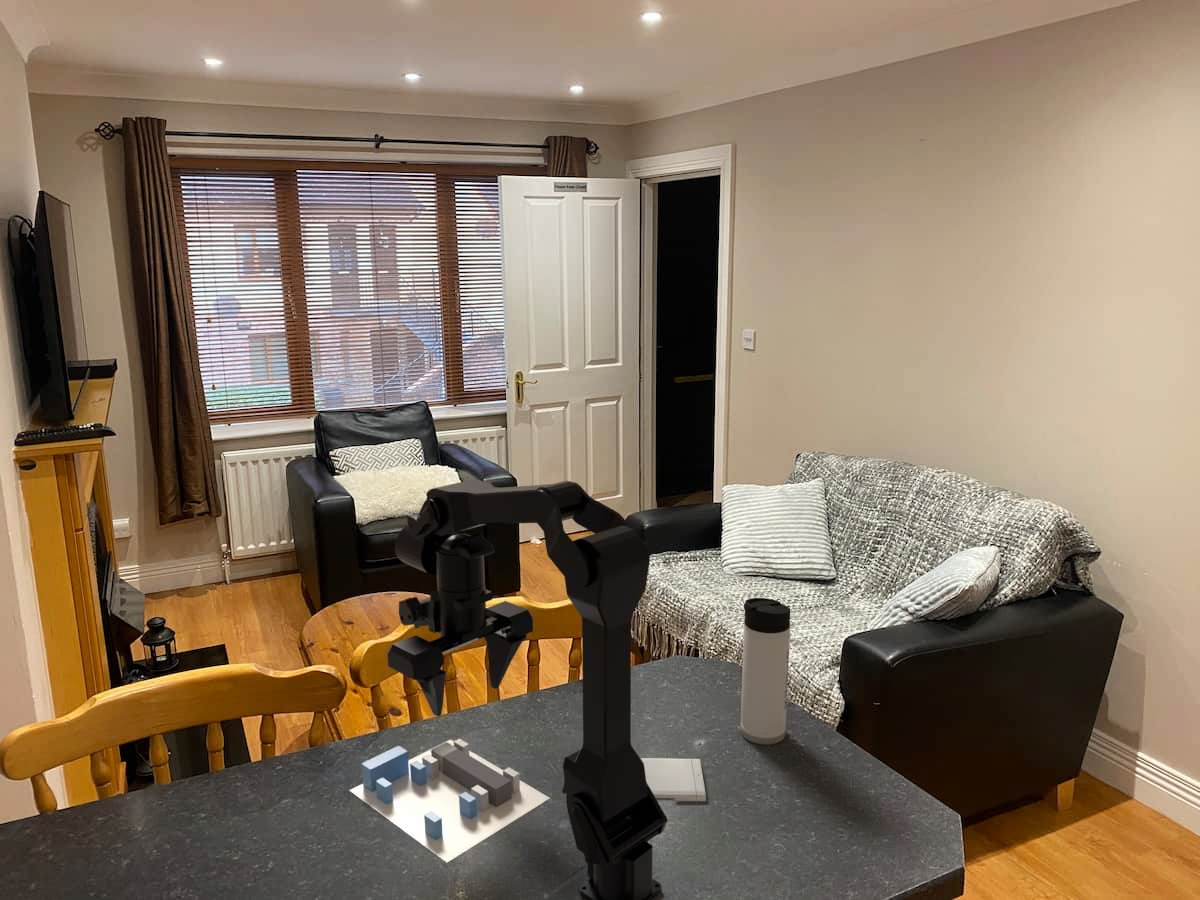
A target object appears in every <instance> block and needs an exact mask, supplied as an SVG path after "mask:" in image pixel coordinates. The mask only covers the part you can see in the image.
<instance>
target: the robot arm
mask: <svg viewBox="0 0 1200 900" xmlns="http://www.w3.org/2000/svg"><path fill="white" fill-rule="evenodd" d="M425 496H426V500H424V502H423V503H422V506H421V508H420V510H419V512H417V513H413V514H409V515H407V516H406V517H407V518H406V521H407V524H406V525H405V526H404V527H402V529H401V530H400V531H399V533H398V535H397V537H396V541H395V542H394V552H395V555H396V557H397V558H398V559H399V560H400V561H401V562H402V563H404V564H406V565H409V566H411V567H412V568H415V569H417V570H420V571H422V572H424V573H427V574H428V575H433V576H434V575H435V576H436V583H437V584H436V585H437V586H436V587H437V589H435V590H431V593H430V595H429V596H428V597H426V598H423V599H418V597H417V596H414V597H408V598H404V599H402V600H400V601H398V617H399V620H400V623H401V624H402V625H403V626H413V627H414V629H420V627H428V631H429V632H431V633H433V634H437V633H439V636H440V637H439V638H436V639H432V640H431V641H429V640H427V639H424V638H423V637H421V636H418V635H417V634H416V635H414V636H411V637H408V638H406V639H403V640H400V641H397V642H395V643H392V644H391V645H390V647H388V650H387V667H388V668H391V669H393V670H394V671H396V672H398V673H400V674H401V675H403V676H406V677H408V678H410V679H411V680H413V681H416V683H418V685H419V687H420V688H421V691H422V693H423V695H424V697H425V700H426V702H427V703H428V706H429V708H430V710H431V712H432V714H433V715H434V716H436V717H440V716H442V711H443V707H444V697H445V685H446V673H447V672H446V671H445V670H444V669H442V667H443V666H444V664H445V661H444V660H445V659H444V655H445V654H448V653H450V652H452V651H455V650H457V649H460V648H462V647H464V646H467V645H469V644H471V643H474V642H476V641H479V640H480V639H484V640H485V642H486V644H487V656H488V657H487V658H488V659H487V660H488V676H489V682H490V687H491V688H492V689H494V690H497V689H499V688H500V685H501V683H502V681H503V679H504V678H505V675H506V673H507V671H508V669H509V666H510V665H511V662H512V660H513V659H514V656H516V653H518V650H519V648H520V646H521V645H522V643H523V642H525V641H527V635H528V634H530V633H532V632H534V617H533V615H532V613H531V611H530V610H529V609H527V608H524V607H522V606H519V605H518V604H514V603H511V602H509V601H507V600H505V601H502V602H498V603H496V604H494V605H491V606H488V607H487V604H486V603H487V602H489V601H492V600H493V592H492V591H491V590H488V589H486V578H485V576H486V575H485V556H488V555H491V554H493V553H494V552H495V548H494V547H493V545H492V544H491V542H489V541H488V540H487V539H486V538H485V537H484V536H483V534H482V533H481V532H479V533H476V534H472V535H470V534H467V533H460V532H463V531H467V530H471V529H474V528H477V527H481V526H486V525H506V524H509V525H512V524H537V525H538V526H539V528H540V529H541V530H542V532H543V535H544V542H545V543H544V544H545V549H546V555H547V557H548V558H549V559H550V560H551V563H553V565H555V567H556V568H557V569H558V570H559V571H560V572H561V574H562V575H563V576H564V581H565V582H564V583H565V591H566V595H567V598H568V599H569V601H570V602H571V604H572V605H573V607H574V608H575V609H576V611H577V612H578V614H579V616H580V617H581V624H582V625H581V631H582V632H581V634H582V636H581V637H582V638H581V639H582V640H581V641H582V643H581V645H582V646H581V647H582V648H581V649H582V650H581V651H582V653H581V654H582V657H581V658H582V661H581V662H582V745H581V748H580V749H578V750H577V751H574V752H573V753H571V754H569V755H567V756H565V757H564V759H563V764H562V769H563V778H564V779H563V781H564V782H563V787H562V790H561V792H562V794H566V796H565V797H566V798H565V799H566V800H565V801H566V802H565V803H566V809H567V814H568V818H569V822H570V825H571V829H572V830H571V831H572V833H573V838H574V842H575V845H576V849H577V850H578V851H580V852H581V853H582V854H583V855H584V861H585V863H586V865H587V870H586V871H587V877H588V878H589V879H588V880H587V881H585V882H584V883H583V884H581V885H580V886H579V894H581V895H582V896H583V897H585V898H587V899H588V900H652V899H653V898H654V897H655V896H656V895H658V894H659V893H660V892H661V891H662V884H661V883H660V882H659V881H657V880H655V879H653V847H654V846H653V844H651V843H649V841H650V840H652V839H653V838H654V837H656V836H659V835H661V834H662V833H664V831H665V828H666V825H667V823H668V817H667V816H666V814H665V812H664V811H663V809H662V807H661V805H660V803H659V802H658V800H657V798H655V796H654V794H653V793H652V791H651V789H650V787H649V786H648V784H647V782H646V776H645V768H644V763H643V761H642V760H641V757H640V756H639V754H638V753H637V751H636V749H635V748H634V746H632V741H631V735H632V734H631V733H632V732H631V729H632V726H631V723H632V721H631V720H632V719H631V715H632V714H631V711H632V709H631V708H632V707H631V704H632V701H631V699H632V698H631V697H632V693H631V691H632V690H631V689H632V688H631V687H632V684H631V683H632V682H631V681H632V667H631V666H632V654H631V653H632V617H633V615H634V612H635V610H636V609H637V606H638V605H639V603H640V601H641V599H642V597H643V595H644V593H645V591H646V589H647V582H648V576H649V570H650V569H649V568H650V561H651V558H650V557H651V556H650V550H649V547H648V543H646V542H645V541H644V540H643V538H642V537H641V536H640V534H638V533H637V531H636V530H635V529H634V528H633V527H632V525H630V524H629V522H628V521H627V520H626V519H625V518H624V517H623V516H622V515H621V514H620V513H619V512H618V511H616V510H614V509H613V508H611V507H609V506H607V505H605V504H603V503H601V502H600V501H598V500H596V499H594V498H592V497H591V496H590V495H589V494H588V493H587V492H586V491H585V490H584V489H583V487H582V486H581V485H580V484H579V483H578V482H574V481H569V480H564V481H558V482H555V483H550V484H546V483H545V484H535V485H534V484H533V485H518V486H506V487H497V486H494V485H493V484H492V483H491V482H489V481H484V480H479V479H469V480H465V481H461V482H456V483H452V484H447V485H446V484H445V485H442V486H438V487H434V488H430V489H429V490H428V491H427V492H426V494H425ZM570 519H572V520H573V522H575V524H577V525H579V526H581V527H583V528H584V529H586V530H587V531H589V532H592V533H593V534H590V535H586V536H583V537H581V538H580V537H579V538H578V539H575V540H572V538H571V537H570V536H569V535H568V534H567V532H565V530H564V523H563V522H564V521H567V520H570Z"/></svg>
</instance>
